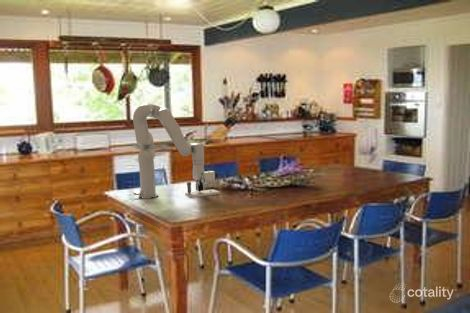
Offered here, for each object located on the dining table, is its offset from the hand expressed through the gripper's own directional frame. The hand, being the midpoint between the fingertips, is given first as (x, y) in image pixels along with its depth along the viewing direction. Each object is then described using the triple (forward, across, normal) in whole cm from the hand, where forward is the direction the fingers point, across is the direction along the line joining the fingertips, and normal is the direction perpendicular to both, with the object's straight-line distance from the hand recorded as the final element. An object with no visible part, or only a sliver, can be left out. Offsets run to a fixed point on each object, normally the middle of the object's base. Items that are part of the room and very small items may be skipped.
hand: (199, 190), depth 323 cm
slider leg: (+1, 0, 0) cm, 1 cm away
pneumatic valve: (+3, -22, +16) cm, 27 cm away
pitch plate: (+3, 0, +2) cm, 4 cm away
